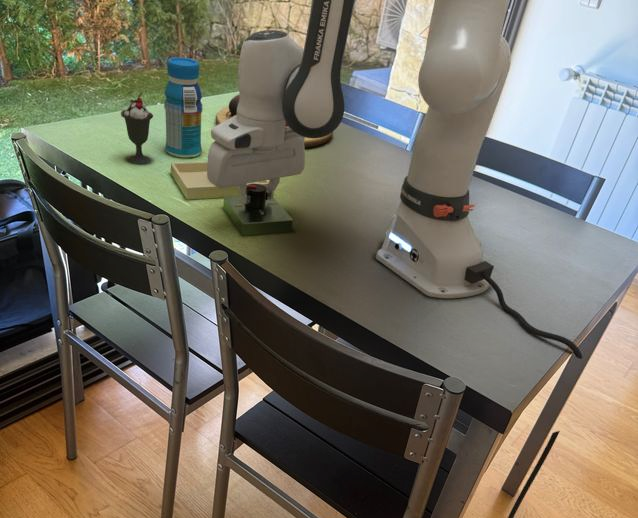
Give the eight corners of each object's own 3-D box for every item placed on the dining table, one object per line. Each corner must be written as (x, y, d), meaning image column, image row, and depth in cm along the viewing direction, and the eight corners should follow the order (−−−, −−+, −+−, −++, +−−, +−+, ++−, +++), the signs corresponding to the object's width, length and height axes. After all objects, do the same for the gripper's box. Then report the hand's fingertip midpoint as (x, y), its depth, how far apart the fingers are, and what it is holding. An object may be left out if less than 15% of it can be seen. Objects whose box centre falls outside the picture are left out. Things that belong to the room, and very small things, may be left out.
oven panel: (291, 231, 116) (293, 219, 115) (242, 235, 112) (243, 222, 111) (269, 205, 125) (270, 192, 123) (223, 208, 121) (223, 195, 119)
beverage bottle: (160, 155, 138) (157, 61, 126) (171, 143, 145) (170, 53, 133) (196, 161, 138) (196, 68, 126) (206, 149, 145) (207, 60, 133)
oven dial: (263, 200, 120) (265, 182, 118) (266, 209, 117) (268, 190, 115) (243, 199, 119) (244, 181, 117) (246, 208, 116) (247, 189, 114)
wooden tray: (270, 194, 129) (271, 183, 127) (186, 199, 121) (186, 187, 120) (249, 170, 138) (250, 160, 136) (170, 173, 130) (170, 162, 129)
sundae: (147, 168, 131) (144, 96, 122) (118, 161, 132) (113, 90, 123) (159, 158, 137) (158, 89, 128) (132, 152, 137) (128, 83, 128)
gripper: (295, 119, 116) (288, 186, 125) (202, 129, 105) (202, 203, 113) (315, 129, 113) (307, 198, 121) (221, 141, 101) (219, 217, 110)
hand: (255, 201), depth 117 cm, fingers closed on oven dial, 4 cm apart
